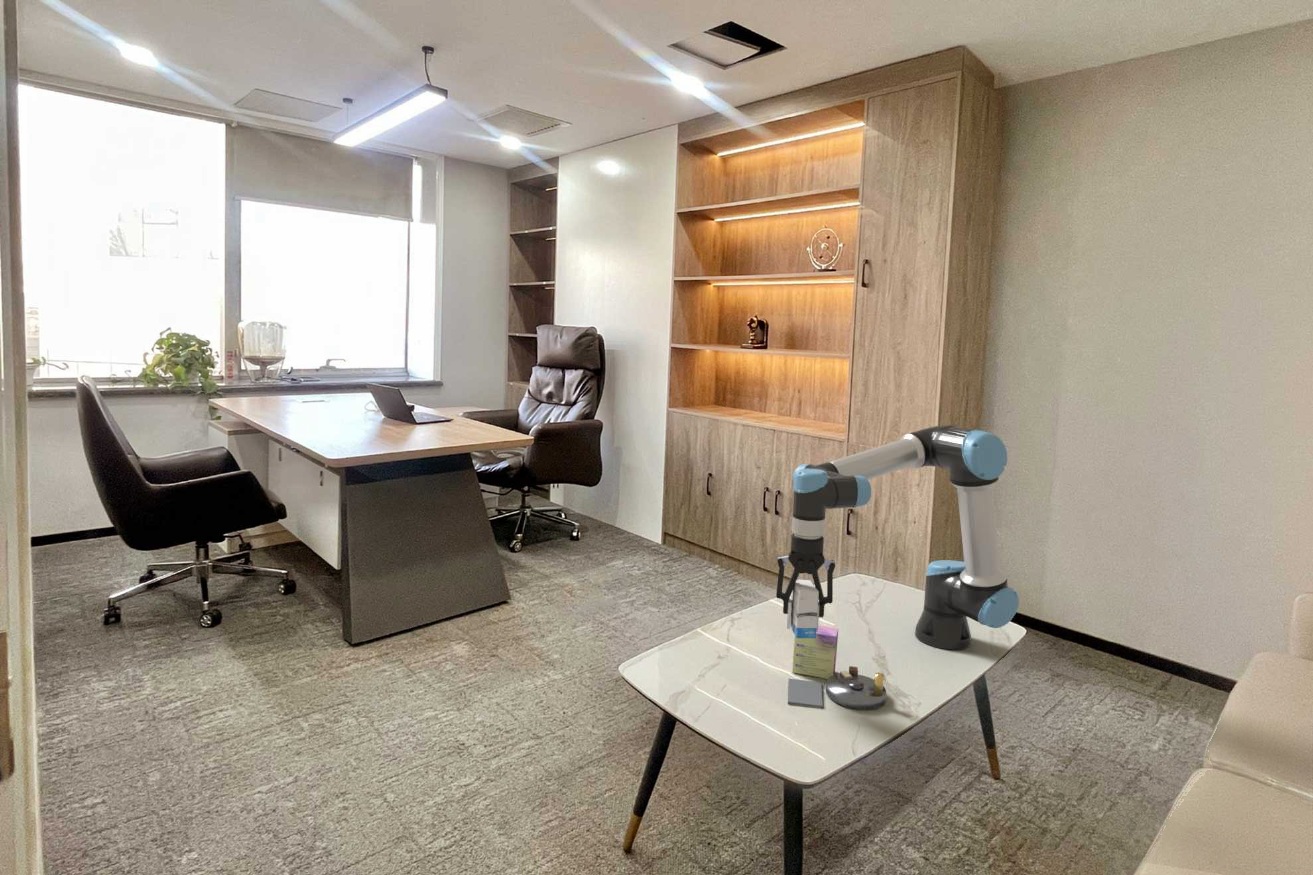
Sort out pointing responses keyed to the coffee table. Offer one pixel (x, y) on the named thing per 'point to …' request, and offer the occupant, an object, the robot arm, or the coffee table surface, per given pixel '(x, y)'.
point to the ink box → (804, 609)
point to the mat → (805, 693)
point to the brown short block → (853, 670)
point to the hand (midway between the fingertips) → (802, 627)
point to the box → (816, 653)
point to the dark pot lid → (856, 690)
